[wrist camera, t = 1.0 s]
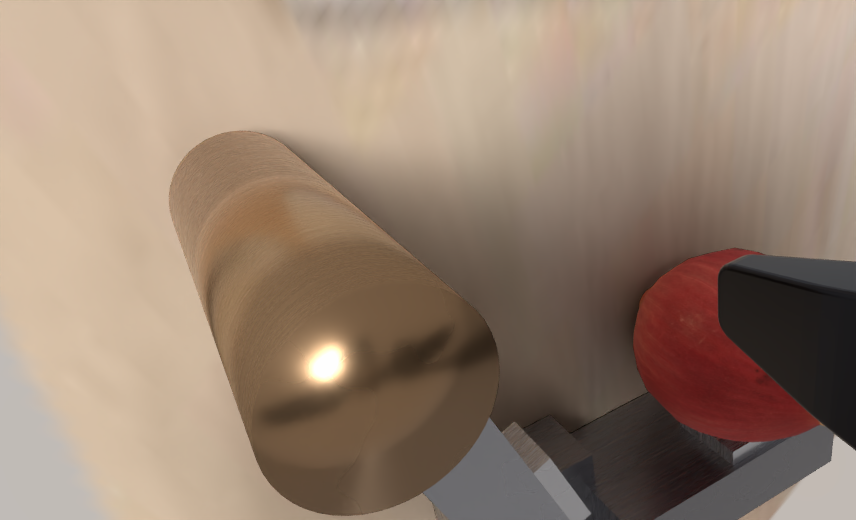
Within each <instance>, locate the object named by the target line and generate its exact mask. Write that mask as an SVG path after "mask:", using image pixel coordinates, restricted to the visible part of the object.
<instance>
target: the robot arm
mask: <svg viewBox="0 0 856 520" xmlns="http://www.w3.org/2000/svg"><path fill="white" fill-rule="evenodd" d="M718 321H719V324H720V326H721V328H722V330H723V332H724V333H725V335H726V336H727V337H728V338H729V339H730V340H731V341H732V342H734V343H735V344H736V345H737V346H738V347H739V348H740V349H741V350H742V351H743V352H744V353H745V354H746V355H747V356H748V357H749V358H751V359H752V360H753V361H754V362H755V363H756V364H757V365H758V366H759V367H760V368H761V369H762V370H763V371H764V372H765V373H767V374H768V375H769V376H770V377H771V378H772V379H773V380H774V381H775V382H776V383H777V384H778V385H779V386H780V387H781V388H783V389H784V390H785V391H786V392H787V393H788V394H789V395H790V396H791V397H792V398H793V399H794V400H795V401H796V402H797V403H799V404H800V405H801V406H802V407H803V408H804V409H805V410H806V411H807V412H809V413H810V414H811V415H812V416H813V417H814V418H816V419H817V420H818V421H819V422H820V423H822V424H823V425H824V426H825V427H827V428H828V429H829V430H830V431H832V432H833V433H834V434H835V435H837V436H838V437H839V438H840V439H842V440H843V441H844V442H846V443H847V444H848V445H849V446H851V447H852V448H853V449H855V450H856V262H851V261H837V260H824V259H810V258H796V257H782V256H769V255H755V254H749V255H744V256H741V257H739V258H737V259H735V260H733V261H731V262H729V263H727V264H725V265H724V266H723V267H721V269H720V271H719V273H718Z"/></svg>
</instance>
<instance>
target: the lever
mask: <svg viewBox="0 0 856 520" xmlns="http://www.w3.org/2000/svg"><path fill="white" fill-rule="evenodd" d="M169 207H170V213H171V217H172V220H173V223H174V226H175V229H176V232H177V235H178V238H179V240H180V243H181V246H182V249H183V252H184V255H185V258H186V260H187V263H188V266H189V269H190V272H191V275H192V278H193V280H194V283H195V286H196V289H197V292H198V295H199V297H200V300H201V303H202V306H203V309H204V312H205V315H206V317H207V320H208V323H209V326H210V329H211V332H212V335H213V337H214V340H215V343H216V346H217V349H218V352H219V355H220V357H221V360H222V363H223V366H224V369H225V372H226V375H227V377H228V380H229V383H230V386H231V389H232V392H233V394H234V397H235V400H236V403H237V406H238V409H239V412H240V414H241V417H242V420H243V423H244V426H245V429H246V432H247V434H248V437H249V440H250V443H251V446H252V449H253V452H254V454H255V457H256V460H257V462H258V464H259V467H260V469H261V471H262V473H263V474H264V476H265V477H266V479H267V480H268V482H269V483H270V484H271V485H272V486H273V487H274V488H275V489H276V490H277V491H278V492H279V493H280V494H281V495H282V496H283V497H285V498H286V499H288V500H289V501H291V502H292V503H294V504H296V505H298V506H300V507H302V508H304V509H307V510H311V511H314V512H317V513H322V514H328V515H341V516H351V515H362V514H368V513H373V512H378V511H381V510H384V509H387V508H391V507H394V506H396V505H398V504H401V503H403V502H406V501H408V500H410V499H412V498H413V497H415V496H417V495H419V494H421V493H424V494H425V495H426V496H427V498H428V499H429V500H430V501H431V502H432V503H433V504H434V505H435V506H436V507H437V508H438V509H439V510H440V511H441V512H442V513H443V514H444V515H445V516H446V517H447V518H448V519H449V520H585V519H586V518H587V517H588V516H589V515H590V514H591V513H590V511H589V510H588V509H587V507H586V506H585V504H584V503H583V502H582V500H581V499H580V498H579V496H578V495H577V494H576V492H575V491H574V490H573V488H572V487H571V486H570V484H569V483H568V482H567V480H566V479H565V477H564V476H563V475H562V473H561V472H560V471H559V469H558V468H557V467H556V465H555V464H554V463H553V461H552V460H551V459H550V457H549V456H548V455H547V454H546V453H545V452H544V451H543V450H542V449H541V448H540V447H539V446H538V445H537V444H536V443H535V442H534V441H533V440H532V439H531V438H530V437H529V436H528V435H527V434H526V432H525V431H524V430H523V429H522V428H521V427H520V426H519V425H518V424H517V423H516V422H515V421H514V422H513V423H512V424H511V425H510V426H508V427H507V428H506V429H505V430H504V431H503V432H502V433H501V431H500V430H499V429H498V428H497V426H496V425H495V424H494V423H493V421H492V420H491V419H490V414H491V412H492V409H493V406H494V403H495V399H496V395H497V390H498V385H499V356H498V352H497V347H496V343H495V341H494V338H493V335H492V333H491V331H490V329H489V327H488V325H487V324H486V322H485V320H484V319H483V318H482V317H481V315H480V314H479V313H478V312H477V311H476V309H474V308H473V307H472V306H471V305H470V304H469V303H467V302H466V301H465V300H464V299H463V298H462V297H460V296H459V295H458V294H457V293H456V292H455V291H453V290H452V289H451V288H450V287H449V286H448V285H446V284H445V283H444V282H443V281H442V280H441V279H439V278H438V277H437V276H436V275H435V274H434V273H433V272H431V271H430V270H429V269H428V268H427V267H426V266H424V265H423V264H422V263H421V262H420V261H419V260H417V259H416V258H415V257H414V256H413V255H412V254H410V253H409V252H408V251H407V250H406V249H405V248H403V247H402V246H401V245H400V244H399V243H398V242H396V241H395V240H394V239H393V238H392V237H391V236H389V235H388V234H387V233H386V232H385V231H384V230H382V229H381V228H380V227H379V226H378V225H377V224H376V223H374V222H373V221H372V220H371V219H370V218H369V217H367V216H366V215H365V214H364V213H363V212H362V211H360V210H359V209H358V208H357V207H356V206H355V205H353V204H352V203H351V202H350V201H349V200H348V199H346V198H345V197H344V196H343V195H342V194H341V193H339V192H338V191H337V190H336V189H335V188H334V187H332V186H331V185H330V184H329V183H328V182H327V181H325V180H324V179H323V178H322V177H321V176H320V175H319V174H317V173H316V172H315V171H314V170H313V169H312V168H310V167H309V166H308V165H307V164H306V163H305V162H303V161H302V160H301V159H300V158H299V157H298V156H296V155H295V154H294V153H293V152H292V151H291V150H289V149H288V148H287V147H286V146H285V145H283V144H282V143H280V142H279V141H277V140H276V139H273V138H271V137H269V136H267V135H264V134H261V133H256V132H251V131H232V132H227V133H222V134H219V135H216V136H213V137H211V138H209V139H207V140H205V141H203V142H202V143H200V144H199V145H197V146H196V147H195V148H193V149H192V150H191V151H190V152H189V153H188V154H187V155H186V156H185V157H184V159H183V160H182V161H181V163H180V164H179V166H178V167H177V169H176V172H175V174H174V176H173V179H172V182H171V185H170V192H169Z"/></svg>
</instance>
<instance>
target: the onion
mask: <svg viewBox="0 0 856 520" xmlns="http://www.w3.org/2000/svg"><path fill="white" fill-rule="evenodd" d="M749 254H755V255H764V254H762V253H759V252H754V251H749V250H744V249H739V248H731V249H726V250H721V251H716V252H711V253H708V254H704V255H701V256H697V257H693V258H690V259H688V260H686V261H684V262H683V263H681V264H679V265H678V266H676V267H675V268H673V269H672V270H670V271H669V272H667V273H666V274H665V275H663V276H662V277H660V278H659V279H658V280H657V282H656V283H655V284H654V285H653V286H652V287H651V288H649V289H647V290H646V292H645V293H644V294H643V296H642V298H641V300H640V302H639V311H638V314H637V319H636V324H635V328H634V339H633V349H634V354H635V359H636V364H637V369H638V371H639V374H640V376H641V378H642V380H643V382H644V384H645V387H646V389H647V390H648V391H649V392H650V393H651V394H652V395H653V397H654V398H655V399H656V400H657V401H658V402H659V403H660V404H661V405H662V406H663V407H664V408H665V409H666V410H667V411H668V412H669V413H670V414H671V415H672V416H673V417H674V418H675V419H676V420H677V421H678V422H680V423H682V424H684V425H686V426H688V427H690V428H692V429H694V430H696V431H698V432H701V433H704V434H708V435H711V436H714V437H718V438H722V439H728V440H733V441H741V442H765V441H772V440H778V439H783V438H787V437H792V436H796V435H799V434H802V433H804V432H806V431H809V430H811V429H812V428H814V427H816V426H818V425H822V426H824V425H823V424H822V423H820V422H819V421H818V420H817V419H816V418H814V417H813V416H812V415H811V414H810V413H809V412H807V411H806V410H805V409H804V408H803V407H802V406H801V405H800V404H799V403H797V402H796V401H795V400H794V399H793V398H792V397H791V396H790V395H789V394H788V393H787V392H786V391H785V390H784V389H783V388H781V387H780V386H779V385H778V384H777V383H776V382H775V381H774V380H773V379H772V378H771V377H770V376H769V375H768V374H767V373H765V372H764V371H763V370H762V369H761V368H760V367H759V366H758V365H757V364H756V363H755V362H754V361H753V360H752V359H751V358H749V357H748V356H747V355H746V354H745V353H744V352H743V351H742V350H741V349H740V348H739V347H738V346H737V345H736V344H735V343H734V342H732V341H731V340H730V339H729V338H728V337H727V336H726V335H725V333H724V332H723V330H722V328H721V326H720V324H719V321H718V273H719V271H720V269H721V267H723V266H724V265H725V264H727V263H729V262H731V261H733V260H735V259H737V258H739V257H741V256H744V255H749Z"/></svg>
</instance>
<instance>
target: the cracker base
mask: <svg viewBox="0 0 856 520" xmlns="http://www.w3.org/2000/svg"><path fill="white" fill-rule="evenodd" d="M523 430H524V431H525V432H526V434H527V435H528V436H529V437H530V438H531V439H532V440H533V441H534V442H535V443H536V444H537V445H538V446H539V447H540V448H541V449H542V450H543V451H544V452H545V453H546V454H547V455H548V456H549V457H550V459H551V460H552V461H553V463H554V464H555V465H556V467H557V468H558V469H559V471H560V472H561V473H562V475H563V476H564V477H565V479H566V480H567V482H568V483H569V484H570V486H571V487H572V488H573V490H574V491H575V492H576V494H577V495H578V496H579V498H580V499H581V500H582V502H583V503H584V504H585V506H586V507H587V509H588V510H589V511H590V513H591V514H590V515H589V516H588V517H587V518H586V519H585V520H738V519H739V518H741V517H743V516H744V515H746V514H747V513H749V512H750V511H752V510H754V509H755V508H757V507H758V506H760V505H762V504H763V503H765V502H766V501H768V500H770V499H771V498H773V497H774V496H776V495H777V494H779V493H781V492H782V491H784V490H785V489H787V488H789V487H790V486H792V485H793V484H795V483H797V482H798V481H800V480H801V479H803V478H804V477H806V476H808V475H809V474H811V473H812V472H814V471H816V470H817V469H819V468H820V467H822V466H823V465H825V464H827V463H828V462H830V461H831V456H832V446H833V436H834V433H833V432H832V431H830V430H829V429H828V428H827V427H825V426H822V425H818V426H816V427H814V428H812V429H811V430H809V431H806V432H804V433H802V434H799V435H796V436H792V437H787V438H783V439H778V440H772V441H765V442H741V441H733V440H728V439H722V438H718V437H714V436H711V435H708V434H704V433H701V432H698V431H696V430H694V429H692V428H690V427H688V426H686V425H684V424H682V423H680V422H678V421H677V420H676V419H675V418H674V417H673V416H672V415H671V414H670V413H669V412H668V411H667V410H666V409H665V408H664V407H663V406H662V405H661V404H660V403H659V402H658V401H657V400H656V399H655V398H654V397H653V395H652V394H651V393H650V392H648V393H646V394H644V395H642V396H640V397H638V398H636V399H635V400H633V401H631V402H629V403H627V404H625V405H623V406H621V407H619V408H618V409H616V410H614V411H612V412H610V413H608V414H606V415H604V416H603V417H601V418H599V419H597V420H595V421H593V422H591V423H589V424H587V425H586V426H584V427H582V428H580V429H578V430H576V431H574V432H572V433H569V432H568V431H567V430H566V429H565V428H563V427H562V426H561V425H560V424H559V423H558V422H557V421H556V420H555V419H554V418H553V417H552V416H551V415H549V416H547V417H545V418H543V419H541V420H539V421H537V422H536V423H534V424H532V425H530V426H528V427H526V428H524V429H523ZM433 507H434V510H435V514H436V517H437V520H449V519H448V518H447V517H446V516H445V515H444V514H443V513H442V512H441V511H440V510H439V509H438V508H437V507H436V506H435V505H434V504H433Z"/></svg>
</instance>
